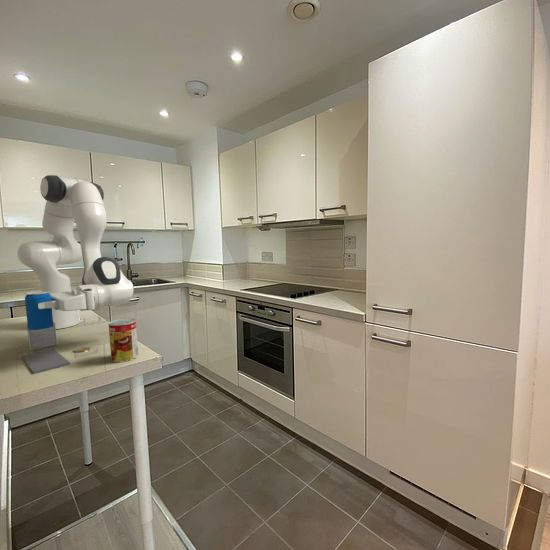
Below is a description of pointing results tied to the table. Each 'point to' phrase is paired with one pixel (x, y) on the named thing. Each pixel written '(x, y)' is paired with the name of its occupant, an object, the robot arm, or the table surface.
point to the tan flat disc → (81, 349)
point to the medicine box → (42, 338)
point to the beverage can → (38, 311)
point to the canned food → (123, 339)
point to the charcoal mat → (44, 360)
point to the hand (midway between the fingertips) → (35, 304)
